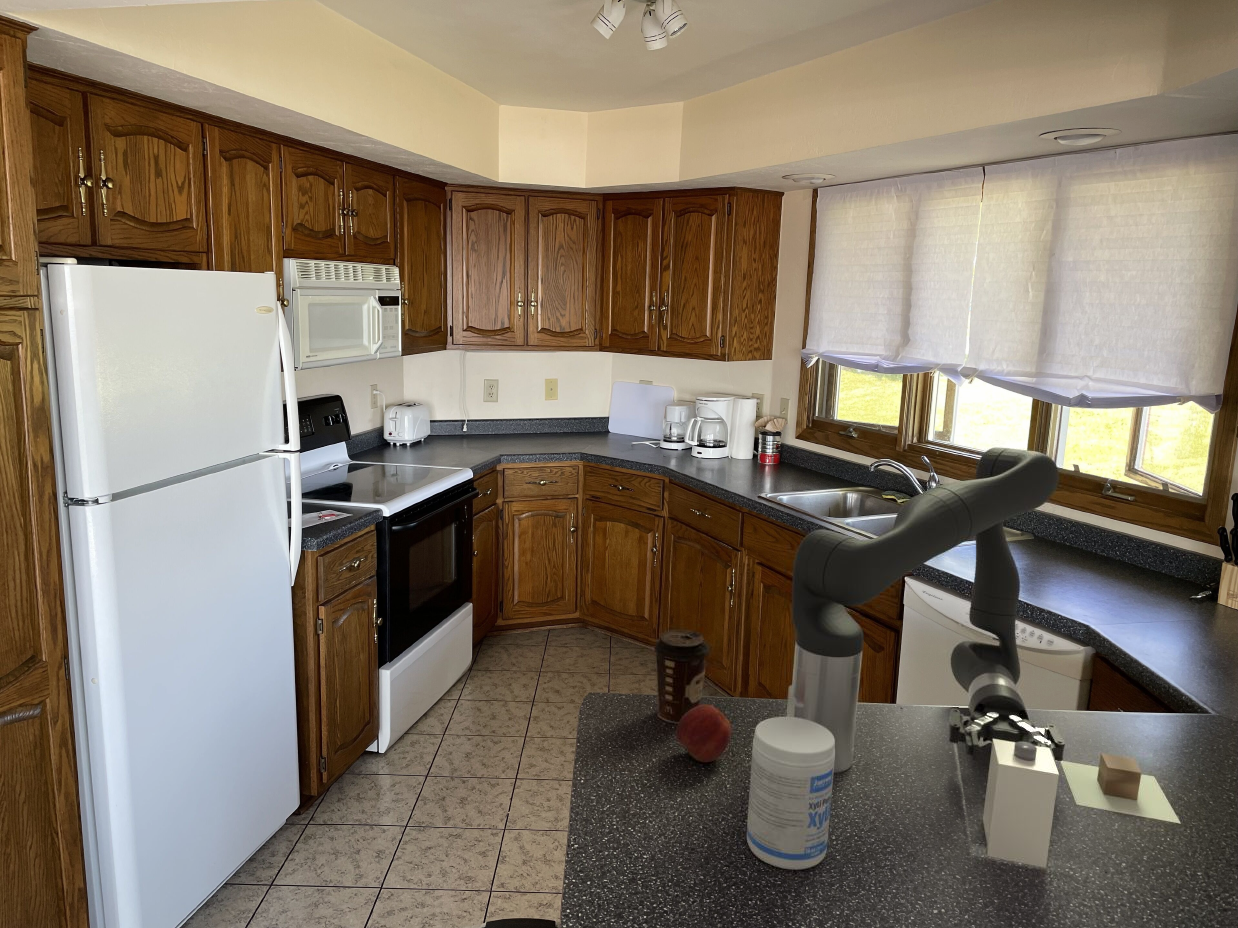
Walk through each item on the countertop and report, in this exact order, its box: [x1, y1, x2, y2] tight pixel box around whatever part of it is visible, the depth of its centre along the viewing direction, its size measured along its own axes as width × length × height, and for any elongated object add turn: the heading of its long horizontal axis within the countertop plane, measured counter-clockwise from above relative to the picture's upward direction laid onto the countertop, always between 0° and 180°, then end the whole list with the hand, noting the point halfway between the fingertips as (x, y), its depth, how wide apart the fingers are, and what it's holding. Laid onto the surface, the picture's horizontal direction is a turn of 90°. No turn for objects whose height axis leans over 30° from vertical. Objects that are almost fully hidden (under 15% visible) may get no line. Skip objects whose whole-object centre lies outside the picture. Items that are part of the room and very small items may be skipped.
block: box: [1097, 752, 1142, 801], centre depth 117 cm, size 4×4×4 cm
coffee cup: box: [653, 629, 711, 725], centre depth 135 cm, size 9×8×13 cm
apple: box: [675, 703, 732, 763], centre depth 123 cm, size 7×8×8 cm
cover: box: [982, 739, 1060, 869], centre depth 104 cm, size 6×6×13 cm
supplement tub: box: [746, 716, 835, 870], centre depth 102 cm, size 10×10×15 cm
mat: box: [1059, 760, 1181, 824], centre depth 117 cm, size 12×12×1 cm
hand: (1010, 759), depth 112 cm, fingers open, 8 cm apart
